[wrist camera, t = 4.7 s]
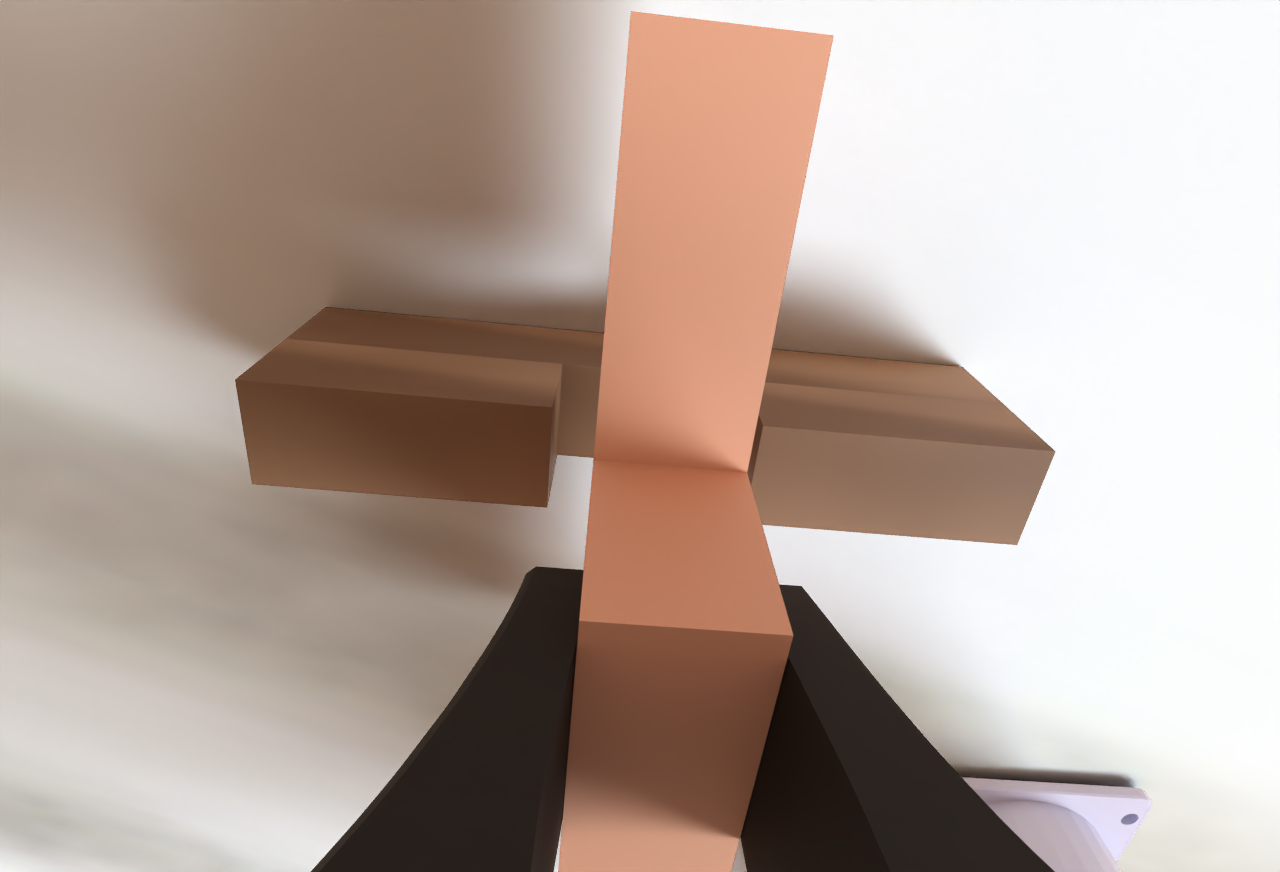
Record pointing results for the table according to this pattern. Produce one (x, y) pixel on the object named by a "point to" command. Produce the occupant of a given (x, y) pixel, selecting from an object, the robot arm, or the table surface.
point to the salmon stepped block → (686, 448)
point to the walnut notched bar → (567, 416)
